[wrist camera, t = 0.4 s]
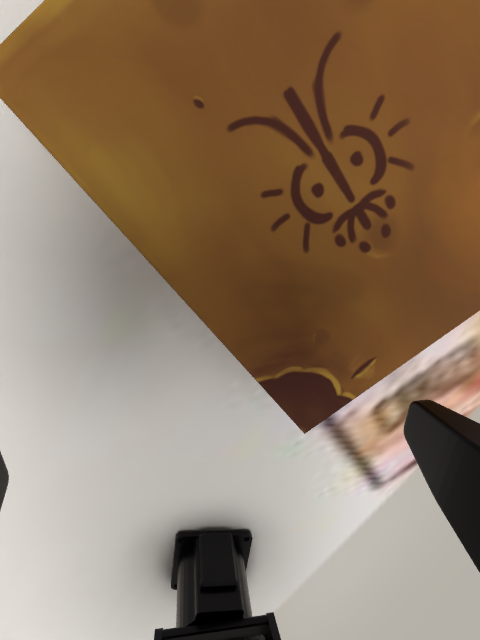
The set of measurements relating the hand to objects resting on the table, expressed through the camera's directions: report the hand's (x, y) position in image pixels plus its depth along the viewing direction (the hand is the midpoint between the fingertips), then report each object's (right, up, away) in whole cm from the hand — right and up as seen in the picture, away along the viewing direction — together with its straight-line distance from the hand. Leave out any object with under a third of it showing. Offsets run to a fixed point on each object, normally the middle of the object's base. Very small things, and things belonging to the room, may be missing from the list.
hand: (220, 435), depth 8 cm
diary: (+4, +12, +14) cm, 18 cm away
